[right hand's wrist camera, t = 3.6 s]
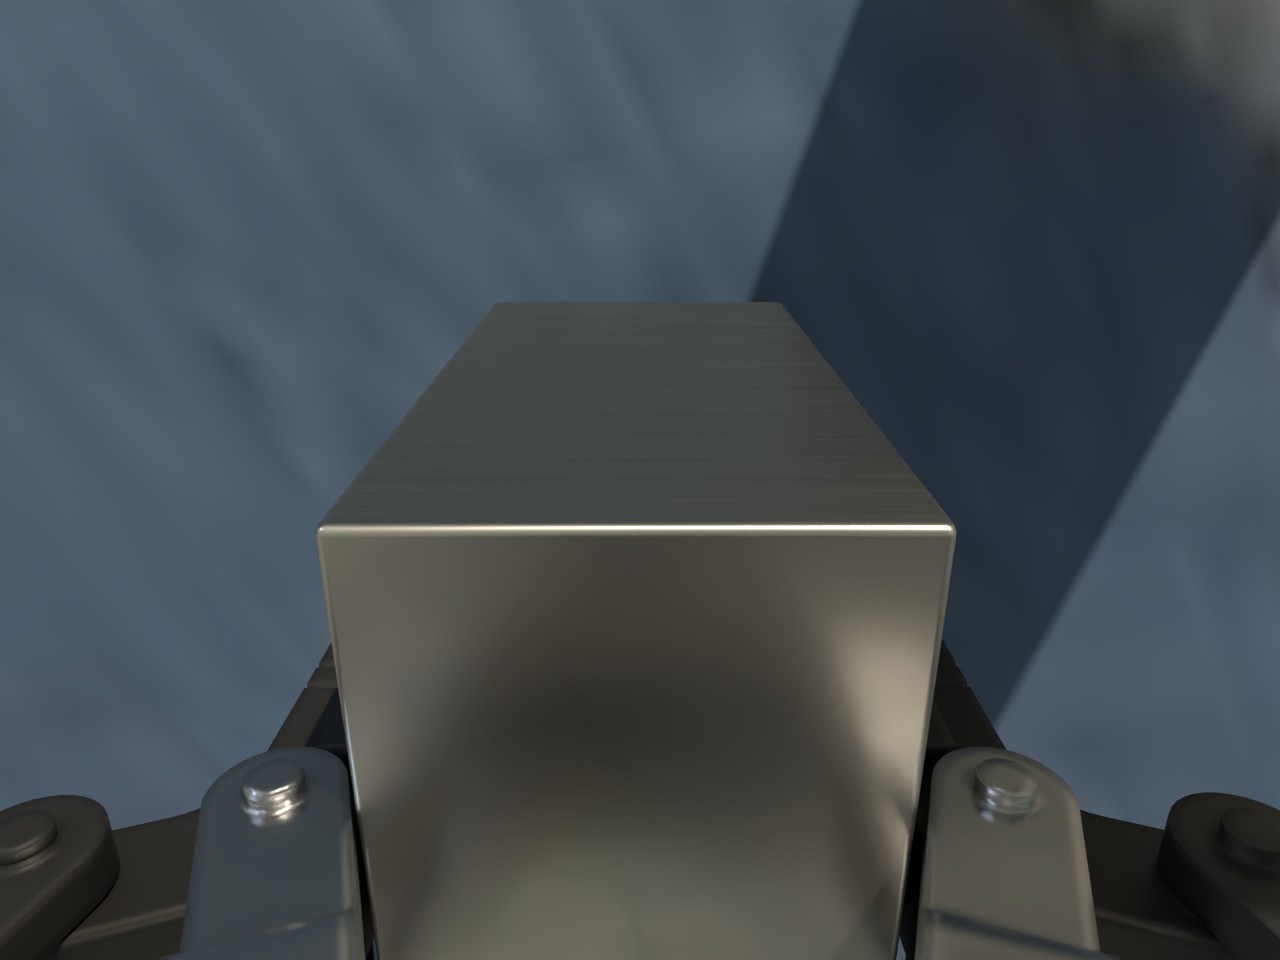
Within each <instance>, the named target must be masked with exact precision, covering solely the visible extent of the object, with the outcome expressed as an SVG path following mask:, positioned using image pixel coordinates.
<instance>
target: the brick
mask: <svg viewBox="0 0 1280 960" xmlns="http://www.w3.org/2000/svg"><path fill="white" fill-rule="evenodd" d="M956 534H957V532H956V529H955V526H954V524H953V522H952V521H951V520H950V518H949V517H948V516H947V515H946V513H945V512H944V511H943V510H942V508H941V507H940V506H939V504H938V503H937V502H936V501H935V499H934V498H933V497H932V495H931V494H930V493H929V492H928V490H927V489H926V488H925V487H924V485H923V484H922V483H921V481H920V480H919V479H918V478H917V476H916V475H915V474H914V472H913V471H912V470H911V469H910V467H909V466H908V465H907V464H906V462H905V461H904V460H903V458H902V457H901V456H900V455H899V453H898V452H897V451H896V449H895V448H894V447H893V446H892V444H891V443H890V442H889V441H888V439H887V438H886V437H885V435H884V434H883V433H882V432H881V430H880V429H879V428H878V426H877V425H876V424H875V423H874V421H873V420H872V419H871V417H870V416H869V415H868V414H867V412H866V411H865V410H864V409H863V407H862V406H861V405H860V403H859V402H858V401H857V400H856V398H855V397H854V396H853V394H852V393H851V392H850V391H849V389H848V388H847V387H846V386H845V384H844V383H843V382H842V380H841V379H840V378H839V377H838V375H837V374H836V373H835V371H834V370H833V369H832V368H831V366H830V365H829V364H828V363H827V361H826V360H825V359H824V357H823V356H822V355H821V354H820V352H819V351H818V350H817V348H816V347H815V346H814V345H813V343H812V342H811V341H810V340H809V338H808V337H807V336H806V334H805V333H804V332H803V331H802V329H801V328H800V327H799V325H798V324H797V323H796V322H795V320H794V319H793V318H792V317H791V315H790V314H789V313H788V311H787V310H786V309H785V308H784V306H783V305H782V304H781V303H779V302H498V303H496V304H494V306H493V307H492V308H491V309H490V311H489V312H488V313H487V314H486V316H485V317H484V318H483V319H482V321H481V322H480V323H479V324H478V326H477V327H476V328H475V329H474V331H473V332H472V333H471V334H470V336H469V337H468V338H467V339H466V341H465V342H464V343H463V344H462V346H461V347H460V348H459V349H458V351H457V352H456V353H455V354H454V356H453V357H452V358H451V359H450V361H449V362H448V363H447V364H446V366H445V367H444V368H443V369H442V371H441V372H440V373H439V374H438V376H437V377H436V378H435V379H434V381H433V382H432V383H431V384H430V386H429V387H428V388H427V389H426V391H425V392H424V393H423V394H422V395H421V397H420V398H419V399H418V400H417V402H416V403H415V404H414V405H413V407H412V408H411V409H410V410H409V412H408V413H407V414H406V415H405V417H404V418H403V419H402V420H401V422H400V423H399V424H398V425H397V427H396V428H395V429H394V430H393V432H392V433H391V434H390V435H389V437H388V438H387V439H386V440H385V442H384V443H383V444H382V445H381V447H380V448H379V449H378V450H377V452H376V453H375V454H374V455H373V457H372V458H371V459H370V460H369V462H368V463H367V464H366V465H365V467H364V468H363V469H362V470H361V472H360V473H359V474H358V475H357V477H356V478H355V479H354V480H353V482H352V483H351V484H350V485H349V487H348V488H347V489H346V490H345V492H344V493H343V494H342V495H341V497H340V498H339V499H338V500H337V502H336V503H335V504H334V505H333V506H332V508H331V509H330V510H329V511H328V513H327V514H326V515H325V516H324V518H323V519H322V520H321V521H320V523H319V524H318V526H317V529H316V539H317V546H318V553H319V560H320V567H321V573H322V580H323V587H324V594H325V601H326V608H327V614H328V621H329V628H330V635H331V642H332V649H333V655H334V662H335V669H336V676H337V683H338V690H339V697H340V703H341V710H342V717H343V724H344V731H345V738H346V744H347V751H348V758H349V765H350V772H351V779H352V785H353V792H354V799H355V806H356V813H357V820H358V826H359V833H360V840H361V847H362V854H363V861H364V867H365V874H366V881H367V888H368V895H369V902H370V908H371V915H372V922H373V929H374V936H375V943H376V949H377V956H378V960H896V956H897V949H898V942H899V935H900V928H901V921H902V914H903V907H904V899H905V892H906V885H907V878H908V871H909V864H910V857H911V850H912V843H913V836H914V829H915V822H916V815H917V808H918V801H919V794H920V787H921V780H922V773H923V766H924V759H925V752H926V745H927V738H928V731H929V724H930V717H931V710H932V703H933V695H934V688H935V681H936V674H937V667H938V660H939V653H940V646H941V639H942V632H943V625H944V618H945V611H946V604H947V597H948V590H949V583H950V576H951V569H952V562H953V555H954V548H955V541H956Z"/></svg>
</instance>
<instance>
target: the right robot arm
mask: <svg viewBox="0 0 1280 960" xmlns="http://www.w3.org/2000/svg"><path fill="white" fill-rule="evenodd" d="M900 938H901V942H902V945H903V948H904V951H905V953H906V955H905V960H1280V810H1278V809H1275V808H1273V807H1271V806H1268V805H1266V804H1263V803H1261V802H1258V801H1255V800H1252V799H1248V798H1245V797H1241V796H1236V795H1231V794H1224V793H1197V794H1192V795H1188V796H1185V797H1183V798H1181V799H1180V800H1178V801H1177V802H1176V803H1175V804H1174V805H1173V806H1172V807H1171V810H1170V812H1169V815H1168V819H1167V822H1166V826H1165V830H1162V829H1158V828H1153V827H1149V826H1144V825H1140V824H1135V823H1131V822H1126V821H1122V820H1117V819H1113V818H1108V817H1104V816H1100V815H1096V814H1092V813H1088V812H1086V811H1083V810H1080V808H1079V804H1078V800H1077V798H1076V796H1075V794H1074V792H1073V790H1072V789H1071V788H1070V787H1069V785H1068V784H1067V783H1066V782H1065V781H1064V780H1063V779H1062V778H1061V777H1060V776H1059V775H1058V774H1056V773H1055V772H1054V771H1052V770H1051V769H1050V768H1048V767H1047V766H1045V765H1043V764H1041V763H1040V762H1038V761H1036V760H1034V759H1032V758H1029V757H1027V756H1025V755H1022V754H1019V753H1016V752H1013V751H1009V750H1006V748H1005V747H1004V745H1003V743H1002V741H1001V740H1000V738H999V736H998V735H997V733H996V731H995V729H994V728H993V726H992V724H991V723H990V721H989V719H988V717H987V716H986V714H985V712H984V711H983V709H982V707H981V705H980V704H979V702H978V700H977V699H976V697H975V695H974V693H973V692H972V690H971V688H970V687H967V681H966V680H965V678H964V676H963V674H962V673H961V671H960V669H959V668H958V667H955V661H954V659H953V657H952V656H951V654H950V652H949V650H948V649H947V647H946V645H945V644H944V642H943V640H942V639H941V646H940V653H939V660H938V667H937V674H936V681H935V688H934V695H933V703H932V710H931V717H930V724H929V731H928V738H927V745H926V752H925V759H924V766H923V773H922V780H921V787H920V794H919V801H918V808H917V815H916V822H915V829H914V836H913V843H912V850H911V857H910V864H909V871H908V878H907V885H906V892H905V899H904V907H903V914H902V921H901V928H900ZM373 939H374V929H373V922H372V915H371V908H370V902H369V895H368V888H367V881H366V874H365V867H364V861H363V854H362V847H361V840H360V833H359V826H358V820H357V813H356V806H355V799H354V792H353V785H352V779H351V772H350V765H349V758H348V751H347V744H346V738H345V731H344V724H343V717H342V710H341V703H340V697H339V690H338V683H337V676H336V669H335V662H334V655H333V649H332V643H331V644H330V646H329V648H328V649H327V651H326V653H325V654H324V656H323V658H322V659H321V661H320V663H319V668H316V670H315V671H314V673H313V675H312V676H311V678H310V680H309V681H308V687H307V688H304V690H303V692H302V693H301V695H300V697H299V698H298V700H297V702H296V703H295V705H294V707H293V708H292V710H291V712H290V713H289V715H288V717H287V719H286V720H285V722H284V724H283V725H282V727H281V729H280V730H279V732H278V734H277V735H276V737H275V739H274V741H273V742H272V744H271V746H270V747H269V749H268V751H267V752H264V753H261V754H258V755H255V756H253V757H251V758H248V759H246V760H244V761H242V762H240V763H239V764H237V765H235V766H233V767H232V768H230V769H229V770H228V771H226V772H225V773H224V774H222V775H221V776H220V777H219V778H218V779H217V780H216V781H215V782H214V783H213V784H212V785H211V787H210V788H209V789H208V790H207V792H206V794H205V796H204V798H203V800H202V804H201V808H200V809H197V810H194V811H192V812H189V813H186V814H183V815H179V816H175V817H171V818H167V819H163V820H158V821H154V822H149V823H145V824H140V825H136V826H131V827H127V828H122V829H118V830H113V831H112V829H111V826H110V822H109V818H108V815H107V813H106V810H105V809H104V807H103V806H102V805H101V804H100V803H98V802H96V801H95V800H93V799H90V798H87V797H83V796H75V795H58V796H49V797H44V798H39V799H34V800H31V801H27V802H24V803H21V804H18V805H15V806H12V807H10V808H7V809H5V810H2V811H0V960H375V955H374V949H373Z"/></svg>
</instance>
